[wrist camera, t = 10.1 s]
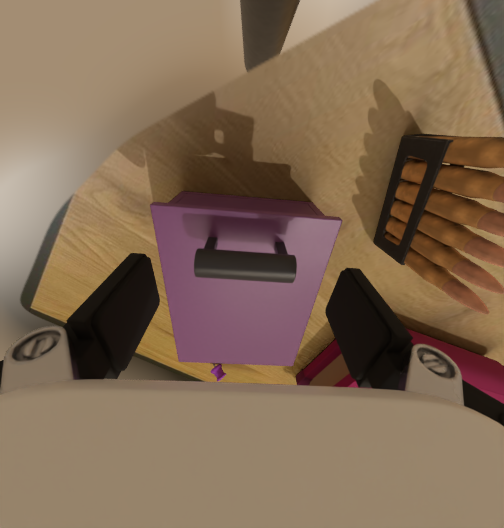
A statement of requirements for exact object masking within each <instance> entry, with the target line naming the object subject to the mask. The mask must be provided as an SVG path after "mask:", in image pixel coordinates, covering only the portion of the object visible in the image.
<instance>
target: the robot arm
mask: <svg viewBox="0 0 504 528" xmlns="http://www.w3.org/2000/svg"><path fill="white" fill-rule="evenodd" d="M159 302H160V298H159V294H158V290H157V285H156V281H155V277H154V272H153V268H152V264H151V260H150V258H149V257H147V256H146V255H145V254H138V253H131V254H130V255H129V256H128V257H127V258H126V259H125V260H124V261H123V262H122V263H121V264H120V265H119V266H118V267H117V268H116V269H115V270H114V271H113V272H112V273H111V274H110V276H109V277H108V278H107V279H106V280H105V281H104V282H103V283H102V284H101V285H100V286H99V287H98V288H97V289H96V290H95V291H94V292H93V293H92V294H91V295H90V296H89V298H88V299H87V300H86V301H85V302H84V303H83V304H82V305H81V306H80V307H79V308H78V309H77V310H76V311H75V312H74V313H73V314H72V315H71V316H70V317H69V318H68V320H67V323H66V324H65V325H64V326H63V328H62V327H60V326H48V327H43V328H40V329H36V330H34V331H32V332H29V333H27V334H26V335H24V336H23V337H21V338H19V339H18V340H17V341H16V342H14V343H13V344H12V345H11V346H10V347H9V349H8V350H7V351H6V354H5V356H4V360H2V361H0V528H504V404H503V403H501V402H500V401H498V400H496V399H495V398H493V397H491V396H489V395H488V394H486V393H484V392H483V391H481V390H479V389H478V388H476V387H474V386H473V385H471V384H469V383H467V382H466V381H464V380H462V375H461V372H460V369H459V368H458V366H457V365H456V363H455V362H454V361H453V360H452V359H451V358H450V357H448V356H447V355H446V354H445V353H443V352H442V351H440V350H438V349H437V348H435V347H432V346H430V345H426V344H416V345H413V343H412V342H411V340H412V339H413V337H412V336H411V334H410V333H409V332H408V331H407V329H406V328H405V327H404V325H403V324H402V323H401V322H400V320H399V319H398V318H397V316H396V315H395V314H394V312H393V311H392V310H391V309H390V307H389V306H388V305H387V303H386V302H385V301H384V300H383V298H382V297H381V296H380V294H379V293H378V292H377V291H376V289H375V288H374V287H373V285H372V284H371V283H370V282H369V280H368V279H367V278H366V276H365V275H364V274H363V273H362V271H361V270H360V269H356V268H346V269H345V270H344V271H342V272H341V273H340V276H339V278H338V280H337V283H336V285H335V288H334V290H333V293H332V295H331V297H330V300H329V302H328V305H327V307H326V316H327V318H328V321H329V323H330V326H331V328H332V331H333V333H334V336H335V338H336V341H337V343H338V346H339V348H340V351H341V353H342V355H343V358H344V360H345V363H346V365H347V368H348V370H349V373H350V375H351V377H352V378H353V379H355V380H356V383H357V385H358V387H359V388H354V387H330V386H305V385H280V384H252V383H224V382H193V381H161V380H160V381H158V380H112V379H117V378H118V376H119V374H120V372H121V371H123V370H125V369H126V368H127V366H128V364H129V362H130V360H131V358H132V356H133V354H134V353H135V351H136V349H137V347H138V345H139V343H140V341H141V339H142V337H143V335H144V333H145V331H146V329H147V327H148V325H149V323H150V322H151V320H152V318H153V316H154V314H155V312H156V310H157V308H158V306H159ZM104 378H107V379H104ZM110 379H111V380H110ZM371 388H372V389H371Z"/></svg>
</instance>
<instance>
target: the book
mask: <svg viewBox="0 0 504 528" xmlns="http://www.w3.org/2000/svg"><path fill="white" fill-rule="evenodd" d="M406 329H407V328H406ZM407 331H408V332H409V333H410V334H411V336H412V337H413V339H412V340H411V342H412V343H413V345H416V344H426V345H430V346H432V347H435V348H437V349H438V350H440V351H442V352H443V353H445V354H446V355H447V356H448V357H450V358H451V359H452V360H453V361H454V362H455V363H456V365H457V366H458V368H459V369H460V372H461V375H462V380H464V381H466V382H467V383H469V384H471V385H473V386H474V387H476V388H478V389H479V390H481V391H483V392H484V393H486V394H488V395H489V396H491V397H493V398H495V399H496V400H498V401H500V402H501V403H503V404H504V366H503V365H501V364H500V363H499V362H497V361H495V360H492V359H489V358H487V357H484V356H481V355H478V354H476V353H473V352H470V351H467V350H465V349H462V348H459V347H456V346H454V345H451V344H448V343H445V342H443V341H440V340H437V339H434V338H431V337H429V336H426V335H423V334H420V333H418V332H415V331H412V330H409V329H407ZM296 382H297V385H305V386H330V387H354V388H359V387H358V385H357V383H356V380H355V379H353V378H352V377H351V375H350V373H349V370H348V368H347V365H346V363H345V360H344V358H343V355H342V353H341V351H340V348H339V346H338V343H337V341H336V339H335V340H334V341H333V342H332V343H331V344H330V345H329V346H328V347H327V348H326V349H325V350H324V351H323V352H322V353H321V354H320V355H319V356H318V357H317V358H315V359H314V360H313V361H312V362H311V363H310V364H309V365H308V366H307V367H306V368H305V369H304V370H303V369H302V370H301V371H300V372H299V373H298V374H297V375H296ZM371 389H372V388H371Z"/></svg>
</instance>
